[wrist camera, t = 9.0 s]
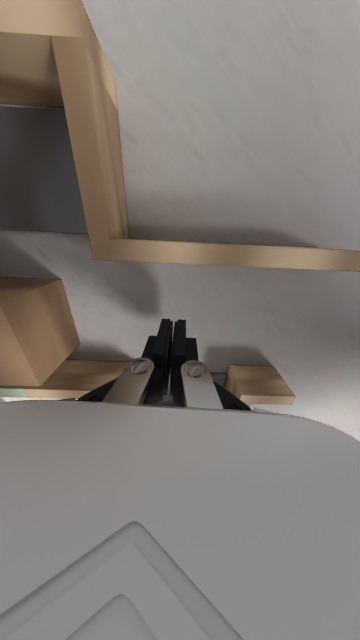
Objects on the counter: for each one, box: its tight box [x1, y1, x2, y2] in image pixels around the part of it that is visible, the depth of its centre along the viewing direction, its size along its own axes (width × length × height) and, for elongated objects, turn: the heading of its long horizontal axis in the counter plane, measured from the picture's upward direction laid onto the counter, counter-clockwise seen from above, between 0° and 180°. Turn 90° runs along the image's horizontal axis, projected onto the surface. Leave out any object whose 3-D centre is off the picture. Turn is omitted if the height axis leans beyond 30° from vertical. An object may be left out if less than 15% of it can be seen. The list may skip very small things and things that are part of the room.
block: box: [0, 277, 80, 386], centre depth 12 cm, size 6×6×5 cm
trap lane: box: [0, 0, 360, 407], centre depth 12 cm, size 26×26×4 cm
